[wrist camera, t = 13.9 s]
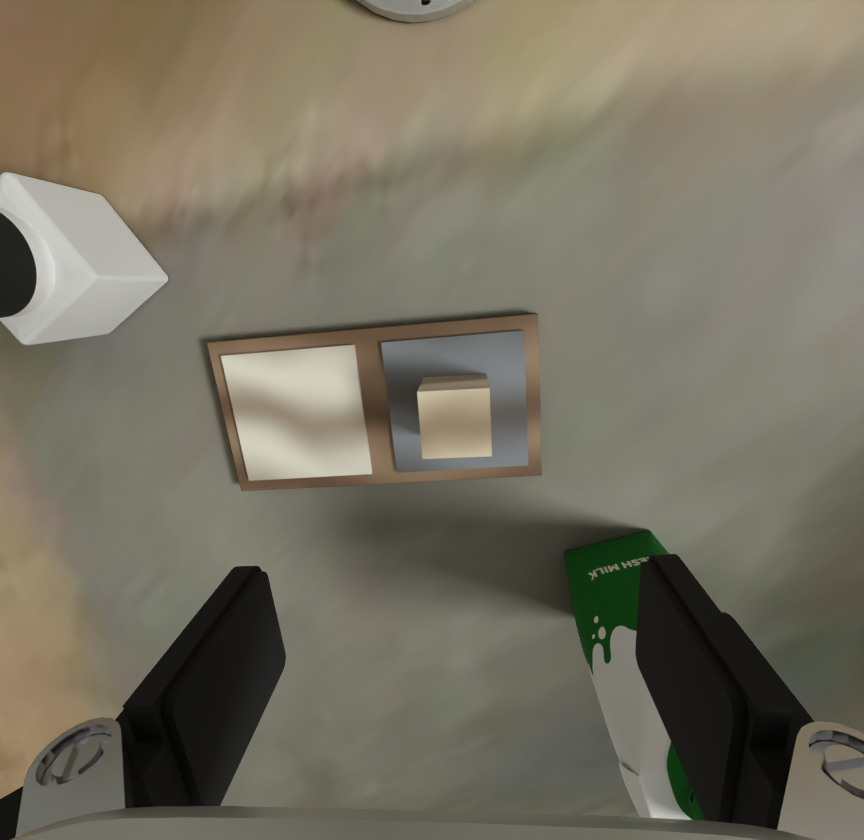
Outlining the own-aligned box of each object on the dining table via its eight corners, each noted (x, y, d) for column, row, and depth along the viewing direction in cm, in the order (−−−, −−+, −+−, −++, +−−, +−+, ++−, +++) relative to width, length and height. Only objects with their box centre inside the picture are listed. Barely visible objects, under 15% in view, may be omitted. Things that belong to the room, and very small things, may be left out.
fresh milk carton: (658, 516, 35) (882, 788, 16) (680, 608, 38) (898, 941, 19) (549, 544, 37) (637, 823, 18) (576, 631, 39) (680, 962, 20)
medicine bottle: (102, 192, 32) (-106, 140, 20) (172, 279, 33) (15, 276, 21) (40, 255, 33) (-186, 240, 22) (109, 335, 35) (-68, 361, 23)
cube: (423, 377, 32) (417, 391, 28) (486, 373, 32) (489, 387, 28) (428, 436, 34) (422, 459, 29) (488, 434, 33) (491, 456, 29)
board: (214, 341, 34) (204, 343, 33) (535, 313, 32) (538, 314, 30) (247, 485, 37) (239, 492, 36) (539, 470, 35) (542, 477, 34)
